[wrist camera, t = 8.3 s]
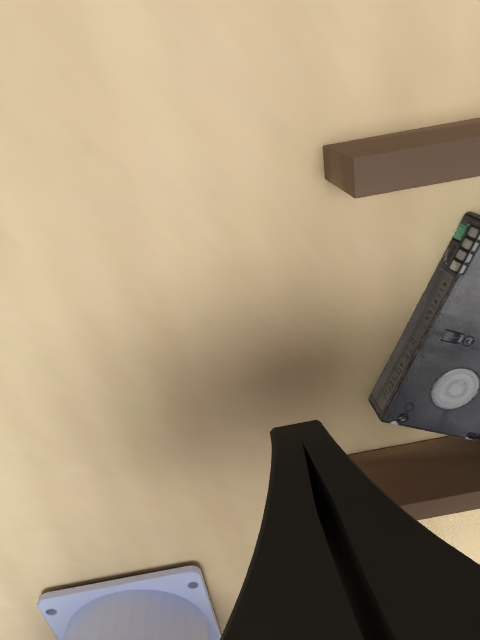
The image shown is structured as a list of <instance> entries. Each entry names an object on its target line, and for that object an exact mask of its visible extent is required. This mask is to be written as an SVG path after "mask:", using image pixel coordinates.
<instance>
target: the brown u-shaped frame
mask: <svg viewBox="0 0 480 640" xmlns="http://www.w3.org/2000/svg"><path fill="white" fill-rule="evenodd" d="M323 153H324V168H325V179H326V180H328V181H329V182H331V183H332V184H334V185H335V186H337V187H338V188H340V189H342V190H343V191H345V192H346V193H348V194H349V195H351V196H352V197H354V198H360V197H366V196H371V195H377V194H382V193H388V192H393V191H399V190H405V189H410V188H416V187H421V186H427V185H432V184H438V183H443V182H449V181H454V180H460V179H465V178H471V177H477V176H480V118H476V119H471V120H465V121H459V122H454V123H448V124H443V125H437V126H432V127H426V128H420V129H415V130H409V131H404V132H398V133H392V134H387V135H381V136H376V137H370V138H364V139H359V140H353V141H348V142H342V143H337V144H331V145H325V146H323ZM347 456H348V457H349V458H350V459H351V460H352V461H353V462H354V463H355V464H356V465H357V466H358V467H359V468H360V470H361V471H362V472H363V473H364V474H365V475H366V476H367V477H368V478H369V479H370V480H371V481H372V482H373V483H374V484H375V485H376V486H378V487H379V488H380V489H381V490H382V491H383V492H384V493H385V494H386V495H387V496H388V497H389V498H391V499H392V500H393V501H394V502H395V503H396V504H397V505H399V506H400V507H401V508H402V509H403V510H404V511H406V512H407V513H408V514H409V515H411V516H412V517H413V518H414V519H416V520H422V519H427V518H432V517H437V516H443V515H448V514H453V513H459V512H464V511H469V510H475V509H480V441H475V440H470V439H465V438H460V437H455V436H448V437H443V438H438V439H432V440H427V441H422V442H416V443H411V444H406V445H400V446H395V447H389V448H384V449H379V450H373V451H368V452H363V453H357V454H352V455H347Z"/></svg>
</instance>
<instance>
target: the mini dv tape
mask: <svg viewBox="0 0 480 640" xmlns="http://www.w3.org/2000/svg"><path fill="white" fill-rule="evenodd" d="M369 402H370V403H371V405H372V407H373V409H374V410H375V412H376V414H377V415H378V417H379V419H380V421H382V422H385V423H390V424H395V425H400V426H405V427H410V428H415V429H420V430H425V431H430V432H435V433H440V434H445V435H450V436H455V437H460V438H465V439H470V440H475V441H480V215H478V214H475V213H472V212H467V213H466V214H465V215H464V217H463V219H462V220H461V222H460V224H459V226H458V228H457V230H456V232H455V234H454V236H453V238H452V240H451V242H450V244H449V245H448V247H447V249H446V251H445V253H444V255H443V257H442V259H441V261H440V263H439V265H438V267H437V268H436V270H435V272H434V274H433V276H432V278H431V280H430V282H429V284H428V286H427V288H426V290H425V292H424V293H423V295H422V297H421V299H420V301H419V303H418V305H417V307H416V309H415V311H414V313H413V315H412V317H411V318H410V320H409V322H408V324H407V326H406V328H405V330H404V332H403V334H402V336H401V338H400V340H399V342H398V343H397V345H396V347H395V349H394V351H393V353H392V355H391V357H390V359H389V361H388V363H387V365H386V367H385V368H384V370H383V372H382V374H381V376H380V378H379V380H378V382H377V384H376V386H375V388H374V390H373V392H372V393H371V395H370V397H369Z"/></svg>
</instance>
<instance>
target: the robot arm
mask: <svg viewBox="0 0 480 640" xmlns="http://www.w3.org/2000/svg"><path fill="white" fill-rule="evenodd" d="M270 436H271V443H272V459H271V472H270V480H269V488H268V494H267V499H266V505H265V510H264V515H263V519H262V524H261V528H260V532H259V536H258V539H257V543H256V546H255V550H254V553H253V556H252V559H251V562H250V565H249V569H248V572H247V575H246V578H245V580H244V583H243V586H242V588H241V591H240V594H239V596H238V599H237V601H236V603H235V606H234V608H233V611H232V613H231V615H230V618H229V620H228V623H227V625H226V627H225V630H224V632H223V634H222V636H221V633H220V630H219V626H218V623H217V620H216V617H215V614H214V610H213V607H212V604H211V601H210V598H209V594H208V591H207V588H206V585H205V582H204V579H203V575H202V572H201V570H200V568H198V567H197V566H193V565H190V566H184V567H179V568H174V569H168V570H163V571H158V572H152V573H147V574H142V575H136V576H131V577H126V578H120V579H115V580H110V581H105V582H99V583H94V584H89V585H83V586H78V587H73V588H67V589H62V590H57V591H52V592H46V593H44V594H42V595H41V596H40V597H39V600H38V603H37V606H38V608H39V610H40V611H41V613H42V615H43V616H44V618H45V620H46V621H47V623H48V624H49V626H50V628H51V629H52V631H53V632H54V634H55V636H56V637H57V639H58V640H480V565H479V564H478V563H476V562H475V561H473V560H472V559H470V558H469V557H467V556H466V555H464V554H463V553H461V552H460V551H458V550H457V549H455V548H454V547H452V546H451V545H449V544H448V543H446V542H445V541H444V540H442V539H441V538H439V537H438V536H436V535H435V534H434V533H432V532H431V531H430V530H429V529H427V528H426V527H425V526H423V525H422V524H421V523H419V522H418V521H417V520H416V519H414V518H413V517H412V516H411V515H409V514H408V513H407V512H406V511H404V510H403V509H402V508H401V507H400V506H399V505H397V504H396V503H395V502H394V501H393V500H392V499H391V498H389V497H388V496H387V495H386V494H385V493H384V492H383V491H382V490H381V489H380V488H379V487H378V486H376V485H375V484H374V483H373V482H372V481H371V480H370V479H369V478H368V477H367V476H366V475H365V474H364V473H363V472H362V471H361V470H360V468H359V467H358V466H357V465H356V464H355V463H354V462H353V461H352V460H351V459H350V458H349V457H348V456H347V455H346V453H345V452H344V451H343V450H342V449H341V448H340V446H339V445H338V444H337V443H336V442H335V440H334V439H333V438H332V437H331V435H330V434H329V433H328V432H327V430H326V429H325V428H324V426H323V425H322V423H321V422H319V421H318V420H313V421H308V422H303V423H297V424H292V425H287V426H282V427H276V428H273V429H272V430H271V431H270Z"/></svg>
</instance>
